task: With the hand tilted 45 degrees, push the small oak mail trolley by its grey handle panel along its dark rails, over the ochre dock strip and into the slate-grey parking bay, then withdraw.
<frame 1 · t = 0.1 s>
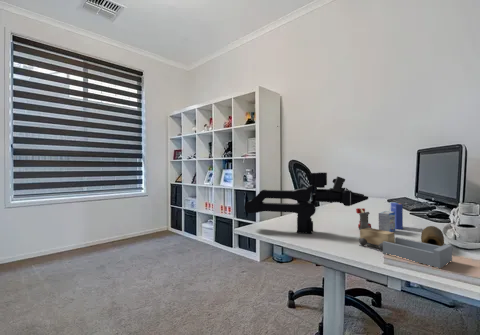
hand: (365, 196, 107), 17 cm above the table, tool horizontal, fingers open, 9 cm apart
walkman: (395, 227, 121), on the table
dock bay: (407, 255, 83), on the table
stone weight: (432, 247, 92), on the table
toy fire truck: (363, 231, 115), on the table
medicine box: (387, 231, 114), on the table
mail trolley: (376, 230, 91), point 6 cm above the table, slide at 0.0 cm
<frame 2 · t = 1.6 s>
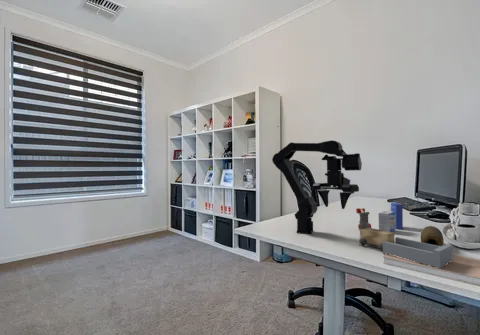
hand: (334, 207, 106), 12 cm above the table, tool pointing down, fingers open, 8 cm apart
nothing on the table moved.
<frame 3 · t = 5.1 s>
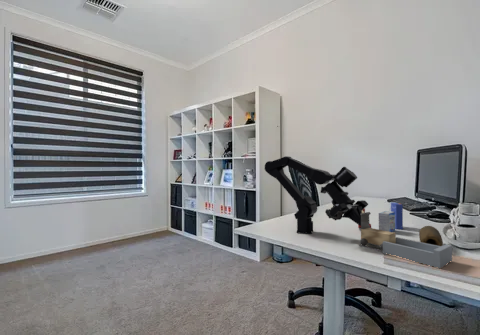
hand: (363, 226, 95), 7 cm above the table, tool tilted 45°, fingers closed, pressing on mail trolley
mail trolley: (377, 230, 91), point 6 cm above the table, slide at 0.4 cm, touching gripper
everything else where it was.
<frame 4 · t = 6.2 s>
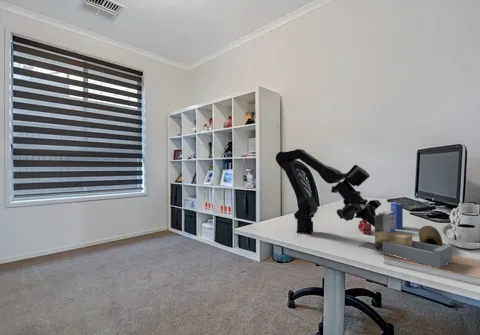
hand: (377, 227, 91), 7 cm above the table, tool tilted 45°, fingers closed, pressing on mail trolley
mail trolley: (392, 233, 86), point 6 cm above the table, slide at 5.5 cm, touching gripper
everything else where it was.
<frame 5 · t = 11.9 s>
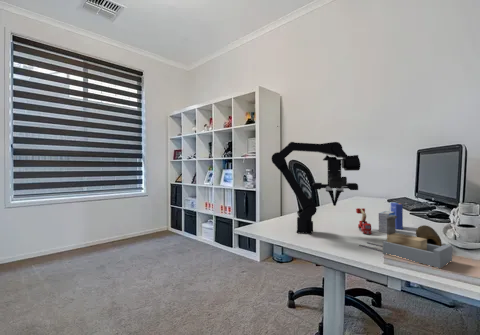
hand: (334, 205, 112), 12 cm above the table, tool pointing down, fingers closed
mail trolley: (406, 236, 83), point 6 cm above the table, slide at 9.7 cm
at the end: mail trolley slide at 9.7 cm; mail trolley 0.1 cm off-centre on the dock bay, point 6.2 cm above the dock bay's base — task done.
